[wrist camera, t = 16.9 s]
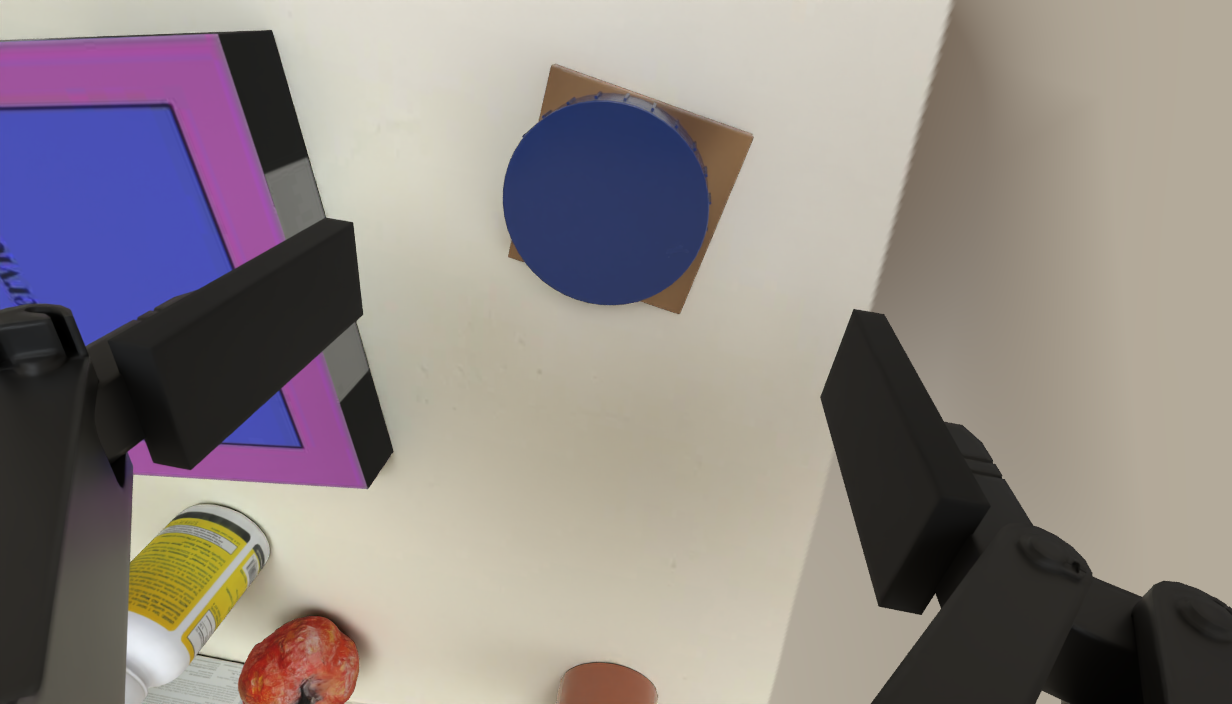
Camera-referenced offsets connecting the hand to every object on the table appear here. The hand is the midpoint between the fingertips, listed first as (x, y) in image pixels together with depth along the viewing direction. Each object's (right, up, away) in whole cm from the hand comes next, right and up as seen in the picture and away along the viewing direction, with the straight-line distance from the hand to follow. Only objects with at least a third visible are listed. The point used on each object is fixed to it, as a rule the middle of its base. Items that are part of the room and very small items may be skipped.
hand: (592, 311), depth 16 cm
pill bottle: (-25, -13, +24) cm, 37 cm away
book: (-27, +3, +15) cm, 31 cm away
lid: (0, +4, +7) cm, 8 cm away
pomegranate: (-21, -22, +28) cm, 41 cm away
